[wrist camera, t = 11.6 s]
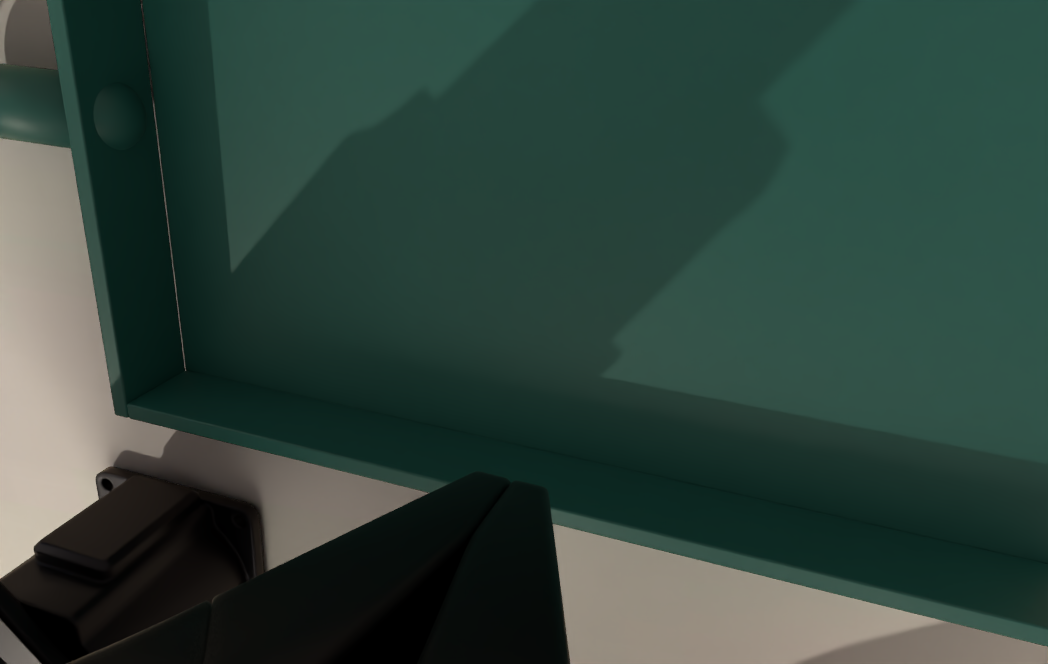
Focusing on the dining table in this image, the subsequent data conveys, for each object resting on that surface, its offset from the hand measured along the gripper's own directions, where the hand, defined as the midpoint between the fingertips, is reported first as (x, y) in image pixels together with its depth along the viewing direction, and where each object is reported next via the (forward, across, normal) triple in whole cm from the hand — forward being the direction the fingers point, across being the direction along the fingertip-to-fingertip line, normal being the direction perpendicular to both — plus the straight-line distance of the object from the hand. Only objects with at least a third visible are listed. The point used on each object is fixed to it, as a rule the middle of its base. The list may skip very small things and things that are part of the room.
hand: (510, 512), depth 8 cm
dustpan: (+11, +5, -2) cm, 12 cm away
